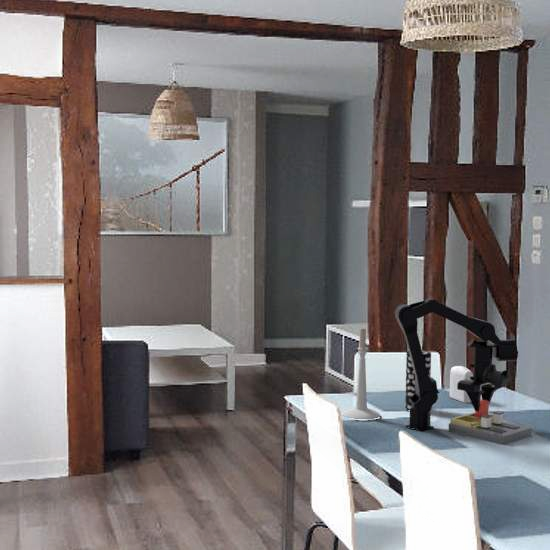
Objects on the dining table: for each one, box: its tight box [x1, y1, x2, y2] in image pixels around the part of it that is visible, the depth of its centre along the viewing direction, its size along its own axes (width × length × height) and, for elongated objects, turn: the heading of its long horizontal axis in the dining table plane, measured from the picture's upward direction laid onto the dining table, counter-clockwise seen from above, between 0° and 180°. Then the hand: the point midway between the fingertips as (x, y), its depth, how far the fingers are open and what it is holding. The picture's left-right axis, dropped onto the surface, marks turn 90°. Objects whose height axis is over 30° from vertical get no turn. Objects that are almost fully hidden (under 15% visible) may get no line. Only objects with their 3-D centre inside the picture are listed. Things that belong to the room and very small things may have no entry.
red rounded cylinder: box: [474, 398, 490, 418], centre depth 263 cm, size 4×4×6 cm
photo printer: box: [449, 365, 473, 404], centre depth 304 cm, size 10×4×12 cm, turn 22°
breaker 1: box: [481, 414, 493, 428], centre depth 254 cm, size 2×2×3 cm
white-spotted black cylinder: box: [404, 350, 432, 410], centre depth 287 cm, size 8×8×20 cm
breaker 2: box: [492, 410, 505, 424], centre depth 259 cm, size 2×2×3 cm
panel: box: [448, 412, 533, 445], centre depth 257 cm, size 16×20×4 cm
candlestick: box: [341, 327, 382, 419], centre depth 277 cm, size 13×13×30 cm
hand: (481, 409), depth 264 cm, fingers open, 5 cm apart
